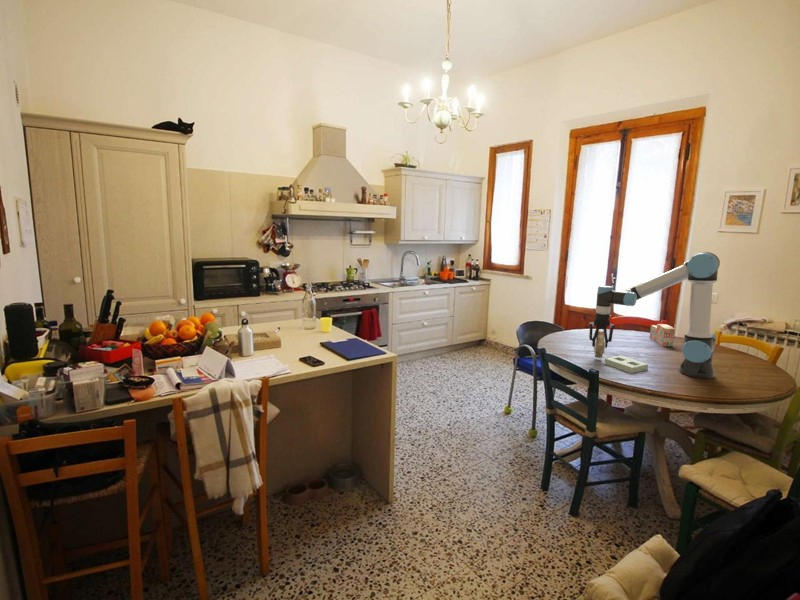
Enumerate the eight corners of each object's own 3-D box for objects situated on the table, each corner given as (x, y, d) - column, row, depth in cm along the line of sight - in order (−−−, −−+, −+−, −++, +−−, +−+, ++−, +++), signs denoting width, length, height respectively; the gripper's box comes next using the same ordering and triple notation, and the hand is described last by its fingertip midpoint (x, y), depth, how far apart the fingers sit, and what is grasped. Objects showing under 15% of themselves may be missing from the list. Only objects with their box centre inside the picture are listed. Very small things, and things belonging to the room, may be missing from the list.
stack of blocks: (649, 337, 291) (651, 320, 289) (658, 338, 290) (661, 321, 288) (662, 346, 271) (665, 328, 268) (672, 346, 270) (675, 328, 267)
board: (647, 369, 225) (648, 364, 224) (631, 373, 219) (632, 367, 218) (620, 360, 239) (621, 355, 238) (604, 363, 233) (605, 358, 232)
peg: (603, 357, 239) (606, 332, 236) (599, 358, 237) (601, 332, 234) (597, 355, 242) (600, 330, 239) (593, 356, 240) (595, 331, 238)
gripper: (618, 312, 236) (614, 352, 240) (585, 310, 241) (582, 349, 245) (620, 315, 229) (616, 355, 233) (587, 313, 234) (583, 352, 238)
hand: (598, 352), depth 239 cm, fingers closed on peg, 4 cm apart
